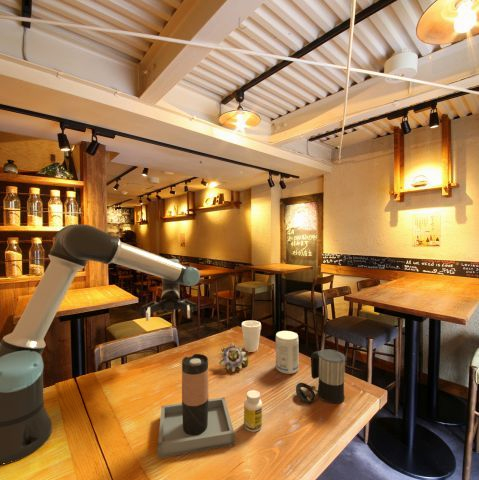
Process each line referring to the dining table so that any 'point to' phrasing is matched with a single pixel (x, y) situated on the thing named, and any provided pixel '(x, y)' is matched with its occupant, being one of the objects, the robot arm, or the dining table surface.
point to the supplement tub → (287, 352)
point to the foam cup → (251, 334)
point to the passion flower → (233, 357)
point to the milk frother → (326, 377)
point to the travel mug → (195, 394)
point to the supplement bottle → (253, 411)
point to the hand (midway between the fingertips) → (168, 315)
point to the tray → (182, 443)
